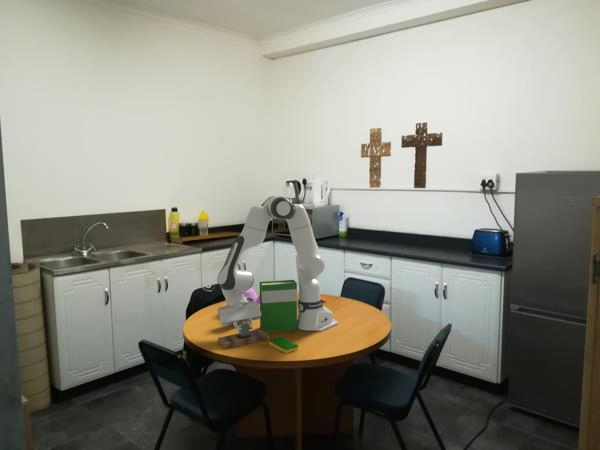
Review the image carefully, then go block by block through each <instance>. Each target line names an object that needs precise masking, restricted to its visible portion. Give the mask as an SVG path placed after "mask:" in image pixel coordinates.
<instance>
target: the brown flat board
mask: <svg viewBox="0 0 600 450" xmlns="http://www.w3.org/2000/svg"><path fill="white" fill-rule="evenodd" d="M217 340H218V341H217V343H218V344H220V345H221V347H223V348H224V349H226V350H227V349H228V350H229V349H232V348H237V347H241V346H245V345H250V344H253V343H257V342H263V341H267V340H270V334H269V333H268V332H264V331H262V328H258V329H257V328H256V329H253V330H249V337H248V338H244V339H240V338H239V333H234V334H230V335H226V336H220V337H218V338H217Z"/></svg>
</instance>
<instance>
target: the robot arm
mask: <svg viewBox="0 0 600 450" xmlns="http://www.w3.org/2000/svg"><path fill="white" fill-rule="evenodd" d="M248 211H249V212H248V214H247V215H246V218H245V222H244V226H243V228H242V230H241V233H240V234H239V235H238V236H237V237H236V238H235V239H234V240H233V243H232V244H231V247H230V250H229V252H228V254H227V257H226V260H225V262H224V264H223V266H222V268H221V269H220V271H219V273H218V275H217V283H218V285H219V287H220V288H221V291H222V295H223V296H224V298H225V303H226V305H225V306H220V307H218V308H217V310H216V311H217V314H218V316H219V321H220V322H219V323H220V325H221V326H223V327H224V326H230V325H231V326H232V324H233V326H232V327H234V329H236V331H237V332H238V333H239V331H241V330H242V329H241V326H240V327H239V326H238V325H237V323H241V321H243V320H247V321H248V323H249V330H252V329H253V328H254V327H253V321H256V320H260V317H261V311H260V306H259V305H257V304H256V303H254V302H255V299H254V298H249V297H244V296H243V292H246V291H247V290H249V289H250V288H253V285H254V282H255V279H254V275H253V273H252V272H251V271H249V270H245V269H244V270H242V269H236V268H237V267H238V266H237V265H238V263H239V261H240V259H241V256H242V254H243V253H244V252H246V251H247V250H249V249H252V248H255V247H258V246H260V245H261V244H262V243H263V242H264V240H265V238H266V235H267V230H268V226H269V224H270V221H271V220H273V219H277V220H285V221H286V222H287V227H288V229H289V233H290V237H291V241H292V245H293V246H294V249H295V252H296V256H295V261H296V262H295V263H296V272H297V279H298V281H297V283H298V298H297V330H301V331H306V332H307V331H313V332H315V331H316V332H323V331H324V330H325V331H326V330H327V329H329V328H332V327H334V326H336V325H338V320H336V319H334V314H333V312H332V310H330V309H329V308H327V307H325V306H324V304H326V303H327V302H328V301H327V299H325V298H321V282H320V278H319V276H320V275H321V274H322V273H323V272H324V271H325V267H326V266H325V262H324V260H323V257H322V253H321V251H320V248H319V245H318V244H317V241H316V239H315V234H314V230H313V228H312V223H311V221H310V218H309V213H308V212H307V210H306V208H305V206H304V205H303V204H300V203H295V204H294V203H293V202H292V201H290V199H288V198H287V197H286V196H285V197H284V196H281V195H273V196H269V197H268V198H267V199H266V200H264V202H263V203H262V204H260V205H253V206H252V207H251V208H250V210H248Z"/></svg>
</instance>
